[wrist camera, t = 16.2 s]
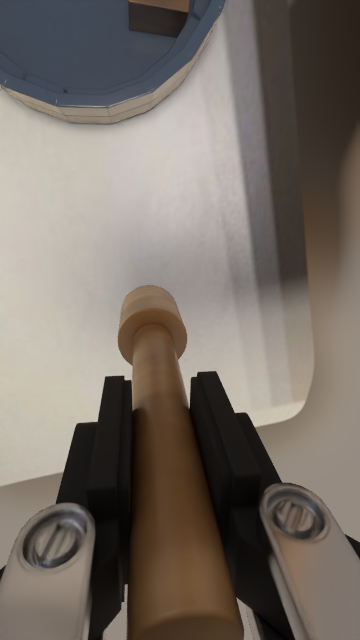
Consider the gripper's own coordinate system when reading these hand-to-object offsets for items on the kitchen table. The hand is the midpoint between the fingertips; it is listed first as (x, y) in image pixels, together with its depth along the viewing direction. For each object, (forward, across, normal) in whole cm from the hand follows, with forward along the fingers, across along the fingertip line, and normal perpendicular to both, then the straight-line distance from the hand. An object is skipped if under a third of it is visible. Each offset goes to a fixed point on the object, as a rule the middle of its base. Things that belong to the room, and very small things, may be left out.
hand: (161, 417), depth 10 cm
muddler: (+10, 0, 0) cm, 10 cm away
